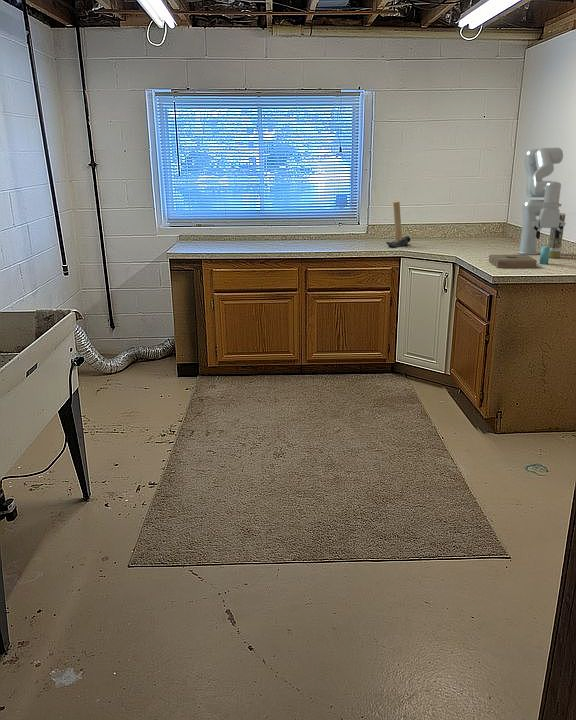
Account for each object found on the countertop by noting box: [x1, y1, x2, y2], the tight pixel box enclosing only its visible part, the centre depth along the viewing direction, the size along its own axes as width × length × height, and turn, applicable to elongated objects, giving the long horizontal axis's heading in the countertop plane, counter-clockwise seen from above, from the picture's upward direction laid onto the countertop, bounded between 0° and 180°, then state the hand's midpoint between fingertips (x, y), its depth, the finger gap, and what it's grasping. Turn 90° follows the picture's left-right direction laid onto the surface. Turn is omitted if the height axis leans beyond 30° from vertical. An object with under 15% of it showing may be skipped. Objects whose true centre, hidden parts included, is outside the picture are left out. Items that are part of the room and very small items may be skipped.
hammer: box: [385, 200, 411, 248], centre depth 394 cm, size 20×5×30 cm, turn 133°
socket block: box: [488, 254, 538, 269], centre depth 326 cm, size 20×20×4 cm
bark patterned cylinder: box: [547, 212, 566, 259], centre depth 343 cm, size 7×7×25 cm
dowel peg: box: [538, 246, 550, 265], centre depth 326 cm, size 4×4×9 cm
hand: (547, 238), depth 323 cm, fingers open, 9 cm apart
